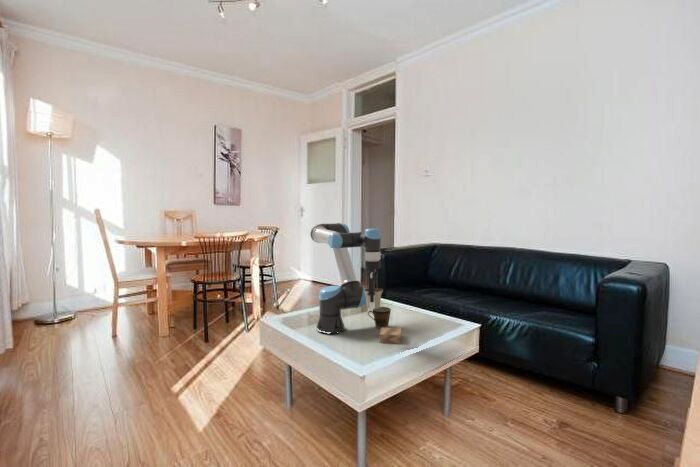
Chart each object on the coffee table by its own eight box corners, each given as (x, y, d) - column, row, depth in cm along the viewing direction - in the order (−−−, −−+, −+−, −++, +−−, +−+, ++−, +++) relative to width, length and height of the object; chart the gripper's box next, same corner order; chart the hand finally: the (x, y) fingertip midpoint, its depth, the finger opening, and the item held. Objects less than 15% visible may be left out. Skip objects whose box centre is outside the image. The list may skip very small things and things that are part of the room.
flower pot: (383, 305, 180) (383, 288, 180) (382, 310, 171) (382, 292, 171) (365, 304, 182) (364, 287, 181) (362, 309, 172) (362, 291, 172)
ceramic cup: (387, 323, 206) (387, 306, 205) (393, 328, 196) (393, 310, 195) (365, 324, 203) (365, 307, 202) (370, 330, 193) (370, 312, 192)
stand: (379, 342, 176) (379, 334, 176) (380, 334, 187) (380, 327, 187) (401, 343, 174) (401, 335, 174) (401, 335, 185) (401, 328, 185)
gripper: (377, 263, 164) (378, 312, 165) (382, 257, 185) (383, 301, 186) (361, 263, 166) (362, 311, 167) (368, 257, 186) (369, 300, 188)
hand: (373, 306), depth 176 cm, fingers closed on flower pot, 8 cm apart
